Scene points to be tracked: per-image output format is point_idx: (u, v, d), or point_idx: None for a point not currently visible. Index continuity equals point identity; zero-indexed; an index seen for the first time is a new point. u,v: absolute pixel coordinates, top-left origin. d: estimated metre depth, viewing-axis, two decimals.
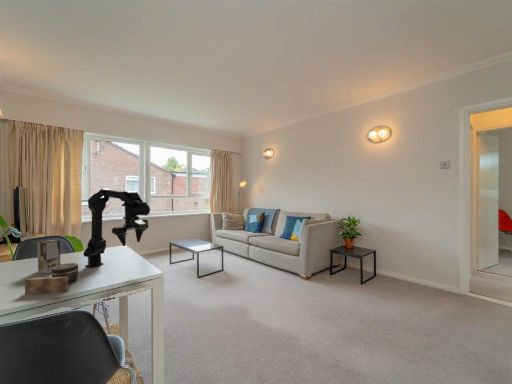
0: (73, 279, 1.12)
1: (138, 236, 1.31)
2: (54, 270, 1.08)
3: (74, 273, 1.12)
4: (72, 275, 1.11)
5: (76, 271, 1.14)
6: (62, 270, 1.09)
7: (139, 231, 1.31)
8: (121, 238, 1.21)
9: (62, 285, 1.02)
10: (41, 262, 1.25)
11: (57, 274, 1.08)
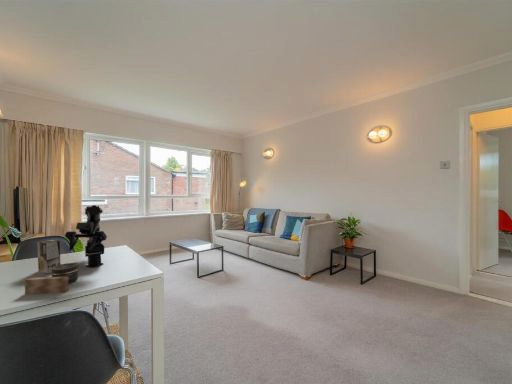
0: (73, 279, 1.12)
1: None
2: (54, 270, 1.08)
3: (74, 273, 1.12)
4: (72, 275, 1.11)
5: (76, 271, 1.14)
6: (62, 270, 1.09)
7: None
8: None
9: (62, 285, 1.02)
10: (41, 262, 1.25)
11: (57, 274, 1.08)
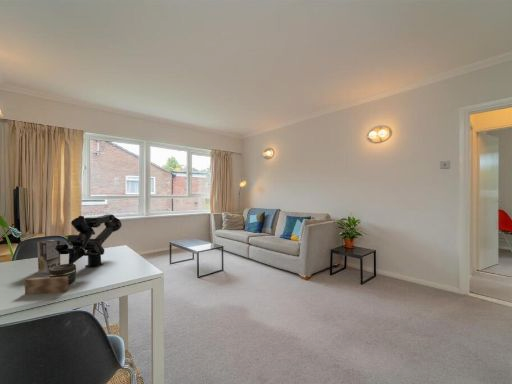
0: (71, 280, 1.11)
1: None
2: (52, 271, 1.07)
3: (72, 274, 1.11)
4: (70, 276, 1.10)
5: (74, 272, 1.13)
6: (61, 271, 1.07)
7: None
8: None
9: (62, 285, 1.02)
10: (41, 262, 1.25)
11: (55, 275, 1.07)
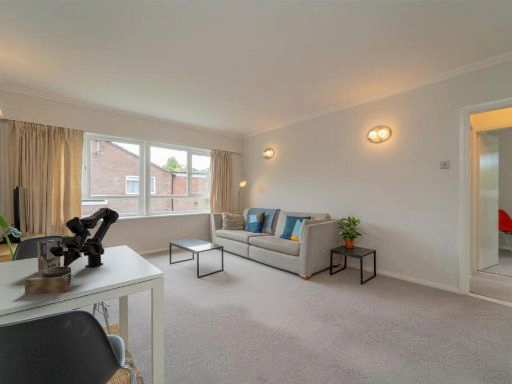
0: None
1: None
2: (47, 274, 1.03)
3: (68, 276, 1.08)
4: None
5: (70, 274, 1.09)
6: (56, 274, 1.04)
7: None
8: None
9: (62, 285, 1.02)
10: (41, 262, 1.25)
11: None
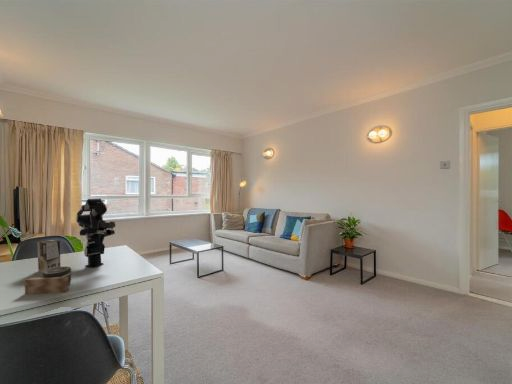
0: None
1: None
2: (47, 274, 1.03)
3: (68, 277, 1.08)
4: None
5: (70, 274, 1.09)
6: (56, 274, 1.04)
7: None
8: (96, 240, 1.27)
9: (62, 285, 1.02)
10: (41, 262, 1.25)
11: None
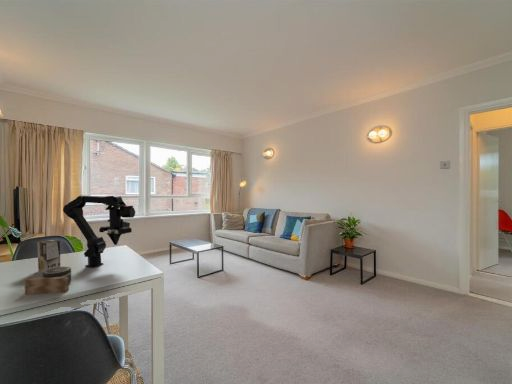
0: None
1: None
2: (47, 274, 1.03)
3: (68, 277, 1.08)
4: None
5: (70, 274, 1.09)
6: (56, 274, 1.04)
7: None
8: (116, 237, 1.35)
9: (62, 285, 1.02)
10: (41, 262, 1.25)
11: None
